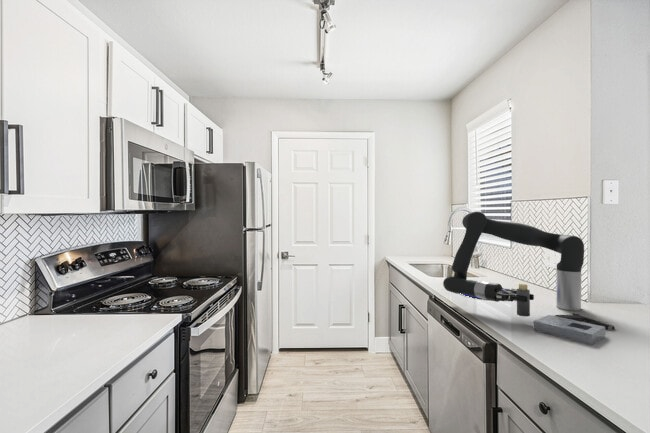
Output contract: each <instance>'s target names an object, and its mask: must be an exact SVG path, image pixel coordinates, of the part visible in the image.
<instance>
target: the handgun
mask: <svg viewBox="0 0 650 433" xmlns="http://www.w3.org/2000/svg"><path fill="white" fill-rule="evenodd" d="M554 316H556V317H561V318H566V319H571V320H575V321H580V322H585V323H590V324H594V325H599V326H604V327H605V331H615V328H616V327H615V325H614V324H611V323H608V322H605V321H603V320H600V319H599V320H598V319H595V318H593V317H591V316H588V315H584V314H581V313H575V312H574V313H572V314H554Z"/></svg>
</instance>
